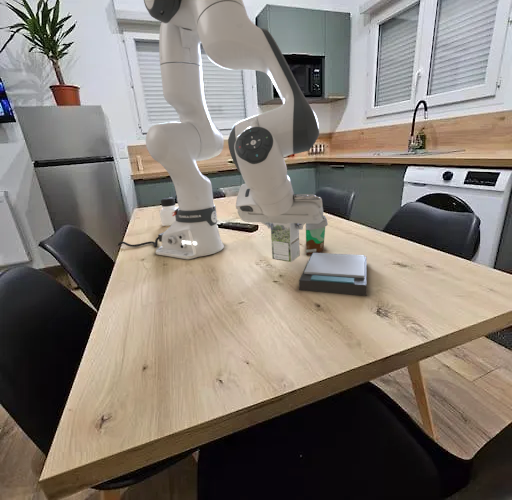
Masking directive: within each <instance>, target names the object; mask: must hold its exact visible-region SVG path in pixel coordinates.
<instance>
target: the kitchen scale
mask: <svg viewBox="0 0 512 500" xmlns="http://www.w3.org/2000/svg"><path fill="white" fill-rule="evenodd" d="M367 259H368V257H367V256H366V255H365V254H355V253H354V254H352V253H351V254H350V253H331V252H329V253H328V252H320V253H313V254H311V255H309V259H308V261H307V263H306V264H305V266H304V269H303V271H302V273H301V275H300V277H299V279H298V282H299V283H298V288H299V289H298V290H299V291H307V292H309V291H310V292H319V293H329V294H330V293H331V294H341V295H353V296H364V297H365V296H366V297H367V286H368V285H367V284H368V283H367V281H368V279H367V276H368V275H367V274H368V272H367V271H368V269H367V267H368V266H367V265H368V264H367Z"/></svg>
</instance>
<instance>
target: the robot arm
mask: <svg viewBox="0 0 512 500" xmlns="http://www.w3.org/2000/svg"><path fill="white" fill-rule="evenodd" d="M143 4H144V7H145V8H146V11H147V12H148V14H149V16H151V17H152V18H153V19H155V20H157V21H159V22H161V23H160V26H159V40H158V52H159V53H158V55H159V67H160V76H161V85H162V94H163V99H164V100H165V101H166V103H167V104H168V105H170V107H172V108H173V109H174V110H175V112H176V114H177V116H178V118H179V121H165V122H162V123H161V122H160V123H158V124H157V123H156V124H154V125H152V126H150V127H149V128H148V130H147V132H146V136H145V147H146V149H147V151H148V154H149V155H150V157H151V159H153V160H154V161H155V162H157V163H158V164H160V165H161V166H162V167H163V168H164V169H165V171H166V172H167V174H168V175H169V177H170V178H171V180H172V181H171V182H172V183H173V187H174V190H175V195H176V200H177V207H179V209H178V210H176V211H175V212H173V213H174V214H173V215H172V216H175V215H176V221H175V222H174V223H173V224H172V225H171V226H168V228H167V229H166V230H165V231H163V232H161V233H158V234H157V237H156V238H155V239H154V241H151V240H150V241H144V242H141V243H137V244H131V243H129V242H126V241H119V242H118V244H117V246H121V245H122V244H123V245H125V246H126V247H131V248H137V247H141V246H144V245H145V246H146V245H150V244H152V245H153V247H154V248H156V250H155V255H158V256H164V257H171V258H176V259H182V260H193V259H196V258H199V257H205V256H210V255H213V254H216V253H219V252H222V250H223V249H224V248H225V245H224V243H223V241H222V237H221V235H220V231H219V226H218V215H217V207H216V205H215V202H214V193H213V185H212V182H211V180H210V178H209V177H207V176H206V175H204V174H203V173H202V172H201V171H200V169H199V167H198V164H197V162H201V161H202V162H203V161H208V160H210V159H213V158H217V156H219V155H220V154H221V153H222V152H223V149H224V146H225V140H224V135H223V133H222V131H221V130H220V128H219V127H218V126H216V124H215V123H214V121H213V119H212V116H211V114H210V112H209V109H208V106H207V102H206V97H205V90H204V80H203V79H204V78H203V77H204V76H203V63H202V61H203V60H202V53H201V46H202V49H203V50H204V53H205V55H206V56H207V58H208V59H209V60H210V61H211V63H213V64H215V65H216V66H218V67H219V68H222V69H226V70H230V71H257V72H262V73H264V74H266V75H267V76H268V77H269V78H270V80H271V82H272V84H273V86H274V88H275V89H276V92H277V93H278V96H279V98H280V99H281V101H282V104H281V105H280V106H278V107H275V108H274V109H273V108H272V109H270V110H267V111H265V112H262V113H259V114H255V115H253V116H250V117H248V118H245V119H242V120H240V121H238V122H236V123H234V124H233V126H232V128H231V130H230V133H229V135H228V139H227V144H228V145H227V146H228V151H229V154H230V157H231V160H232V162H233V163H234V167H235V168H236V170H237V171H238V172H240V175H241V177H242V179H243V182H244V183H242V184H241V185H240V187H239V189H238V193H237V197H236V200H235V209H236V210H237V215H238V217H239V218H240V220H241V221H243V222H246V223H261V224H263V225H264V226H266V227H267V229H270V230H271V223H297V224H296V228H297V229H299V231H300V230H302V231H303V230H304V225H306V224H319V223H321V222H322V220H323V215H324V207H323V204H324V203H323V199H322V197H321V196H317V195H315V194H314V193H295V191H294V188H293V184H292V182H291V178H290V176H289V174H288V168H287V162H286V160H285V157H288V156H291V155H297V154H302V153H305V152H310V150H311V149H312V148H313V146H314V145H315V143H316V142H317V140H318V138H319V136H320V125H319V121H318V117H317V114H316V112H315V111H314V109H313V108H312V106H311V105H310V103H309V102H308V101H309V100H308V99H307V98H306V96H305V95H304V93H303V91H302V90H301V88H300V86H299V84H298V82H297V80H296V78H295V75H294V73H293V72H292V70H291V69H290V68H291V67H290V66H289V64H288V62H287V60H286V58H285V56H284V55H283V53H282V50H281V49H280V47H279V45H278V44H277V41H276V39H275V38H274V37H273V35H272V34H271V32H269V30H268V29H266V28H261V27H259V26H257V25H256V24H255V23H253V22H252V21H251V19H250V18H249V15H248V13H247V10H246V7H245V4H244V1H243V0H143ZM159 242H161V246H159V247H158V243H159Z"/></svg>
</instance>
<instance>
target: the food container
mask: <svg viewBox="0 0 512 500" xmlns="http://www.w3.org/2000/svg"><path fill="white" fill-rule="evenodd" d="M328 225H329V224H328V219H327V216H326V215H324V214H323V220H322V222H321V223H319V224H306V223H305V253H306V254H305V255H306V256H311V254H313V253H323V252H324V250H325V249H324V248H325V237H326V236H325V235H326V227H327V226H328Z"/></svg>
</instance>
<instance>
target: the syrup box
mask: <svg viewBox="0 0 512 500" xmlns="http://www.w3.org/2000/svg"><path fill="white" fill-rule="evenodd" d="M296 224H297V223H271V229H270V237H271V238H270V239H271V241H270V242H271V257H272V259H271V260H275V261H282V262H287V263H288V262H289V263H292V262H293V261H295V260H296V259H297V258H298V257H300V256H301V250H300V249H301V247H300V229H297V228H296Z"/></svg>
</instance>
